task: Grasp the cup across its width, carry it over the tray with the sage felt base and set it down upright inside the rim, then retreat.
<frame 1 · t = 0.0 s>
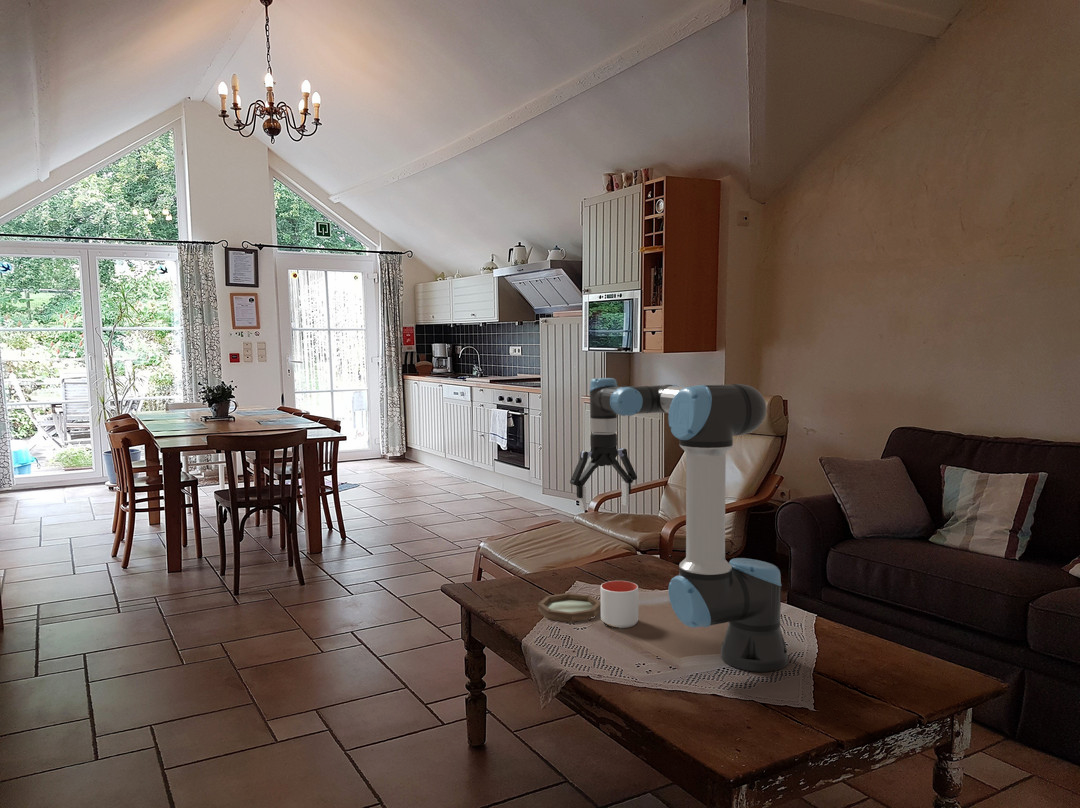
hand: (604, 507, 217), 28 cm above the table, fingers open, 13 cm apart
cup: (619, 623, 204), on the table
tray: (569, 610, 214), on the table
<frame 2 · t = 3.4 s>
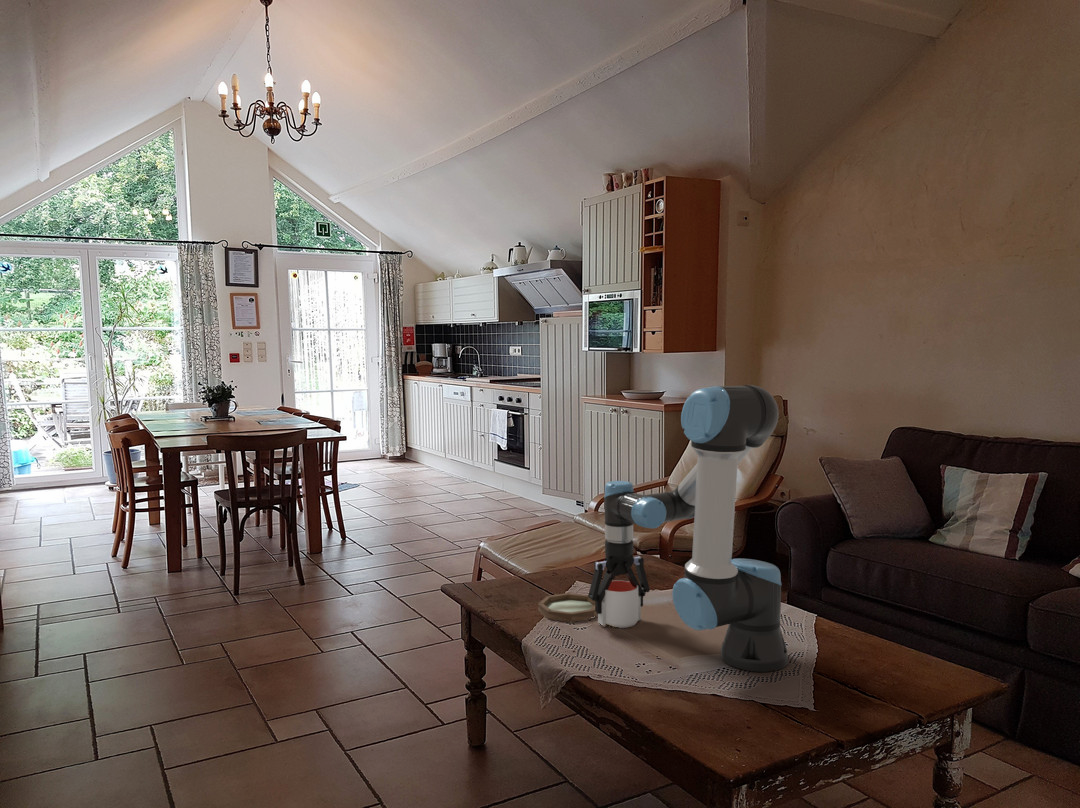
hand: (619, 621, 204), 0 cm above the table, fingers closed on cup, 10 cm apart
cup: (619, 623, 204), on the table, touching gripper
when the fingers open (2 cm above the table, at t = 9.4 s): cup drops 1 cm, resting on tray.
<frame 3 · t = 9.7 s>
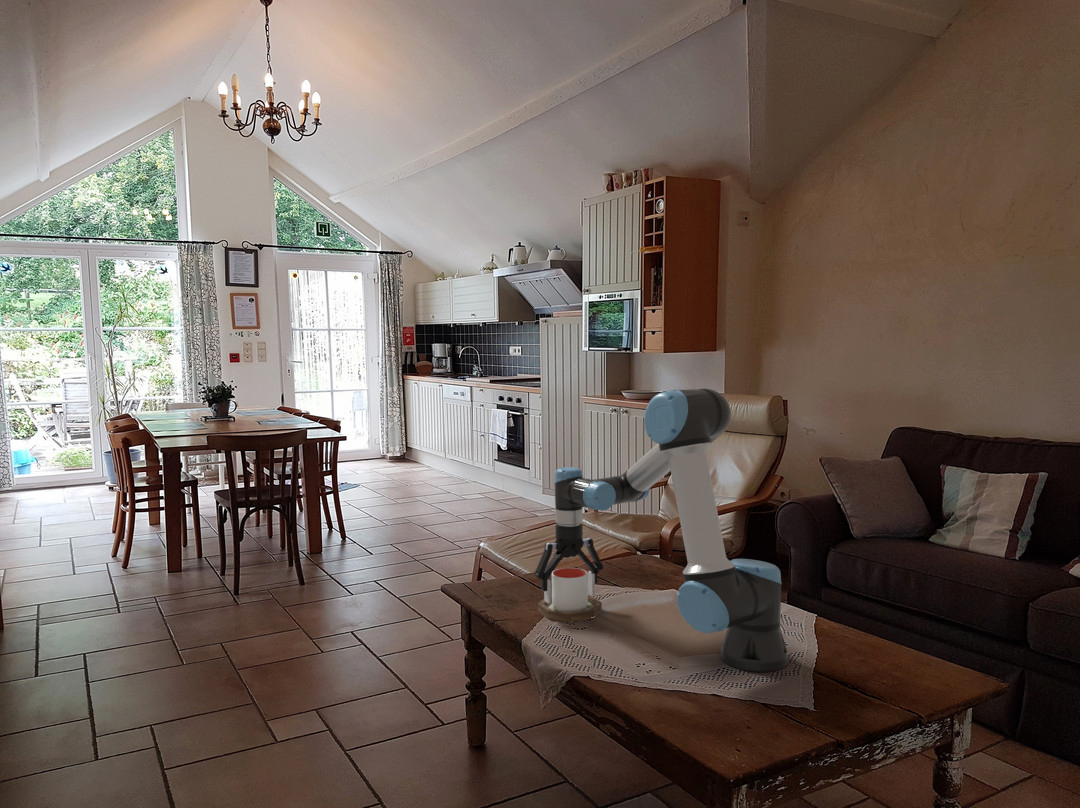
hand: (569, 598, 213), 3 cm above the table, fingers open, 13 cm apart
cup: (569, 608, 214), point 1 cm above the table, touching tray
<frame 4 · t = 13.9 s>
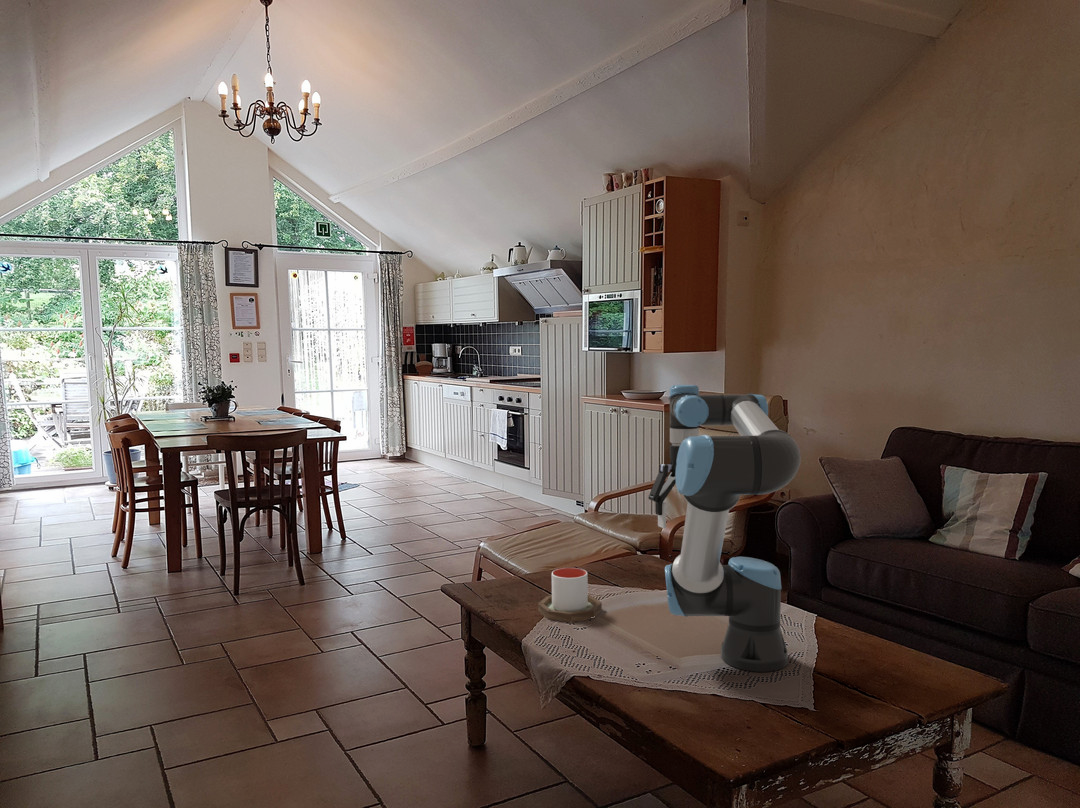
hand: (684, 524, 200), 27 cm above the table, fingers open, 13 cm apart
nothing on the table moved.
at the end: cup inside the target area on the tray (0.0 cm from its centre), point 0.6 cm above the tray's base; cup tilted 0°; the gripper is holding nothing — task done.
